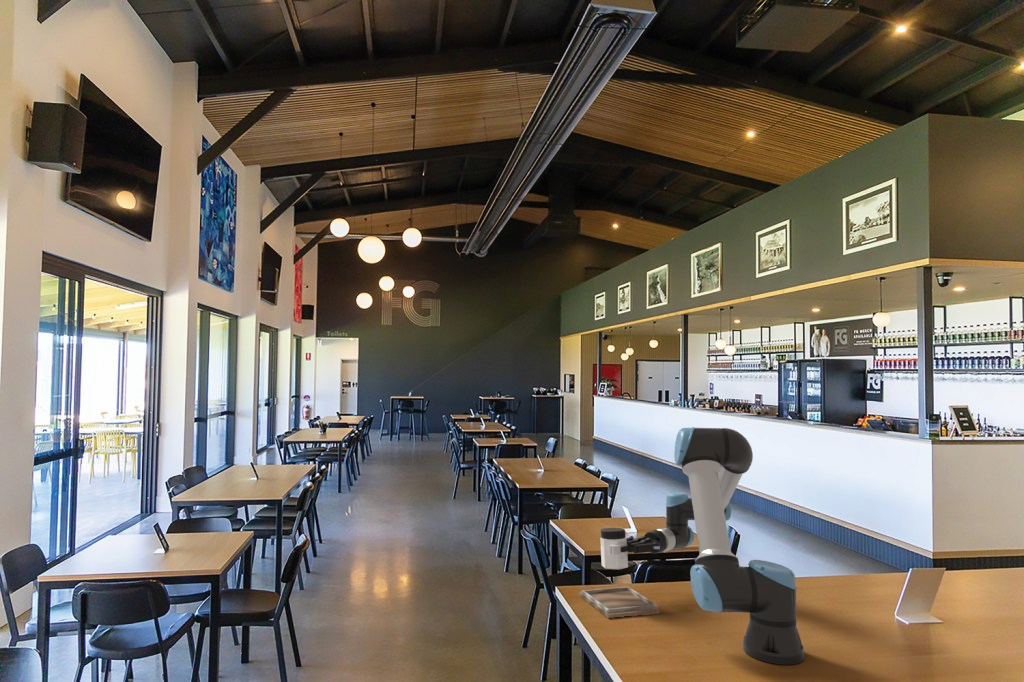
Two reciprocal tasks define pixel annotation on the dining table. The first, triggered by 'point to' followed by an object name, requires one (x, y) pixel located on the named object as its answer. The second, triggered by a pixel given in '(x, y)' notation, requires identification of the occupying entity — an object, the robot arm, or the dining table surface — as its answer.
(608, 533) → the jar
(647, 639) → the dining table surface
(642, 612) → the tray
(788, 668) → the dining table surface
